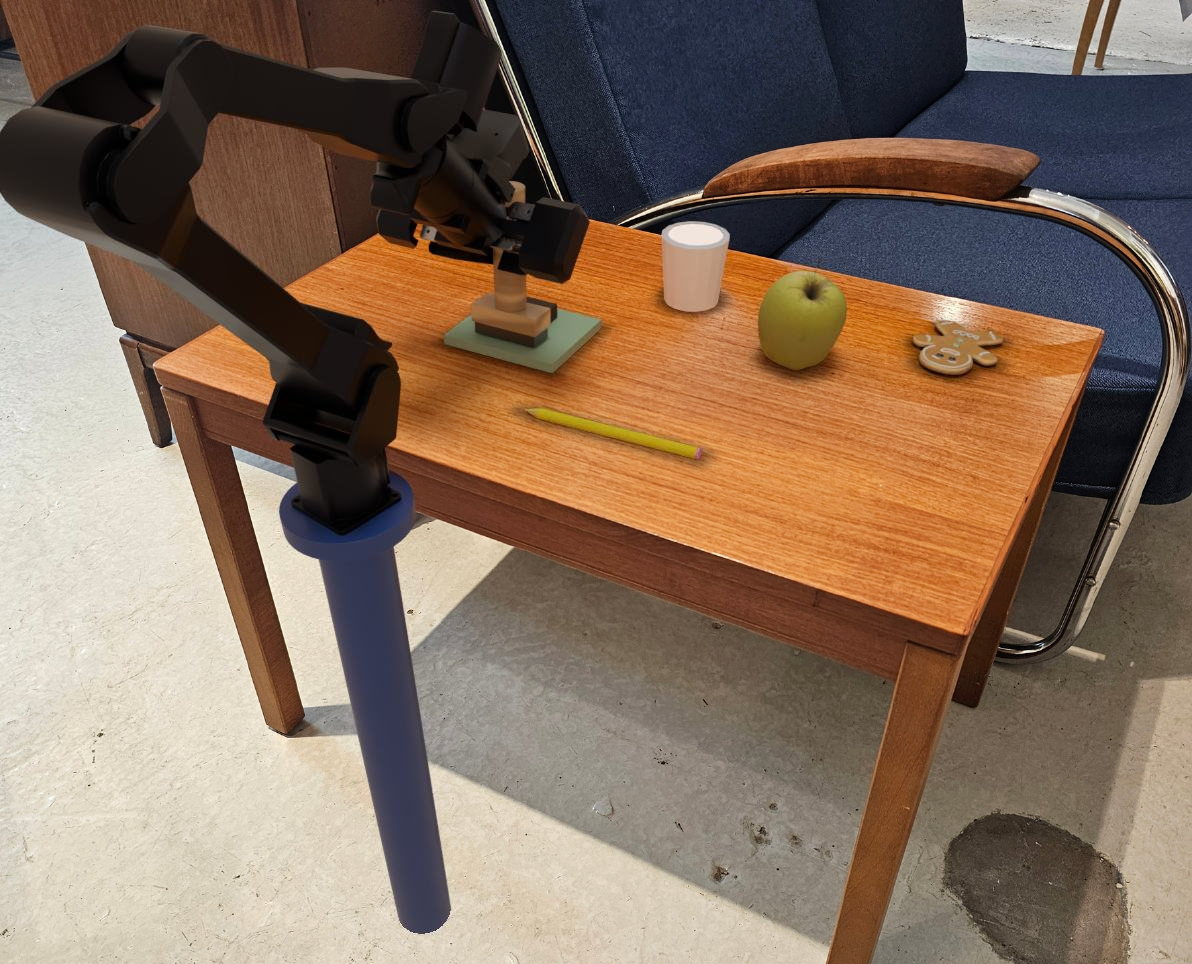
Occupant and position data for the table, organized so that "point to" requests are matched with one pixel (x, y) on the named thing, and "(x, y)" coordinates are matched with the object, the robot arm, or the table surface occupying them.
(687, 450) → the pencil
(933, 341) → the cookie
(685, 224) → the white cup
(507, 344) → the mat
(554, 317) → the dark brown square block
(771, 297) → the apple
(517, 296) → the wooden rubber stamp
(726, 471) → the table surface
